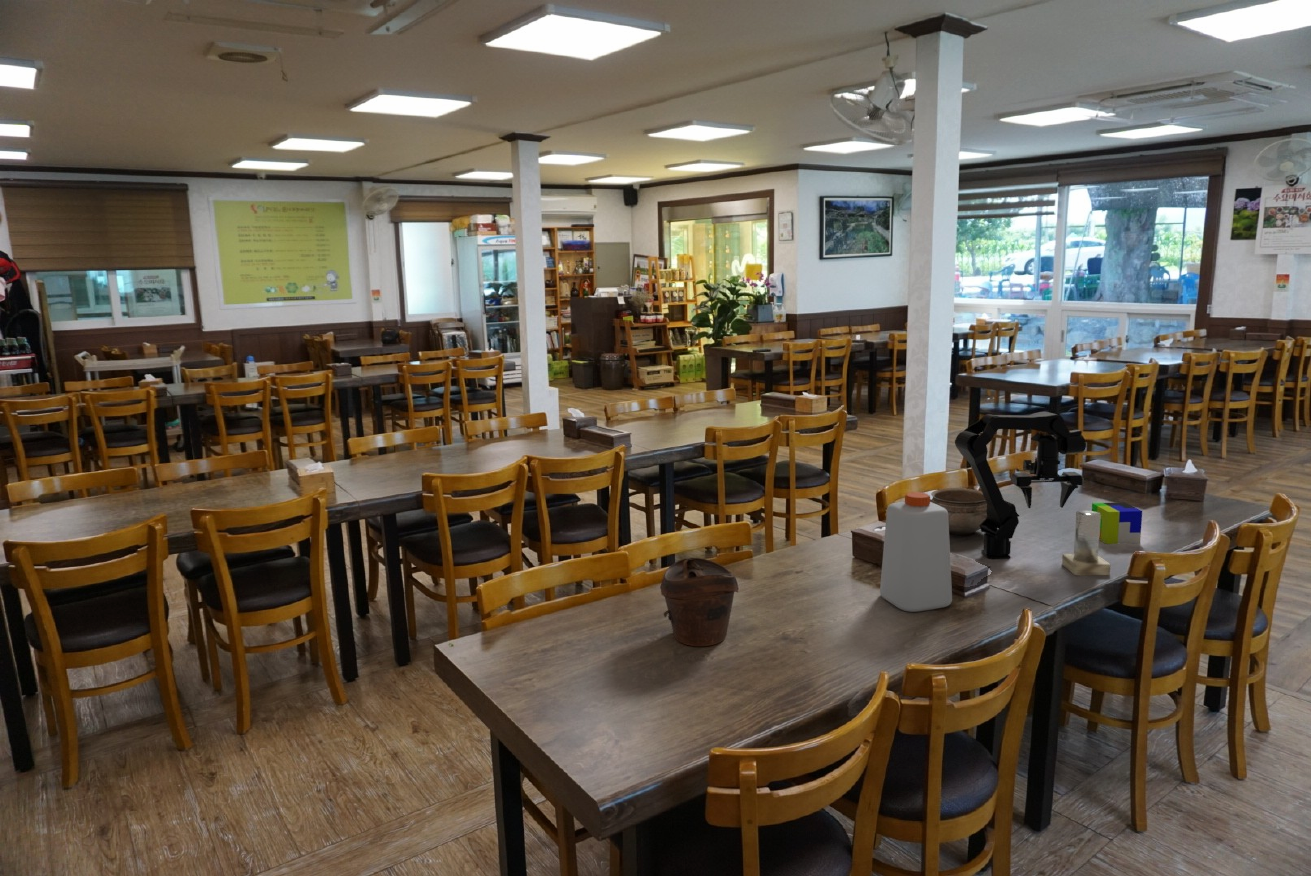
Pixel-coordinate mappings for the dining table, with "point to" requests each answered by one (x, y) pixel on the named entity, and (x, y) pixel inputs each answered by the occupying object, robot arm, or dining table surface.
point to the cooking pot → (962, 508)
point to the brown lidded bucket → (698, 600)
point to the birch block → (1085, 566)
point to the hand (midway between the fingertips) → (1045, 507)
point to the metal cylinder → (1087, 536)
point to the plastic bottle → (916, 555)
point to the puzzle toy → (1119, 522)
